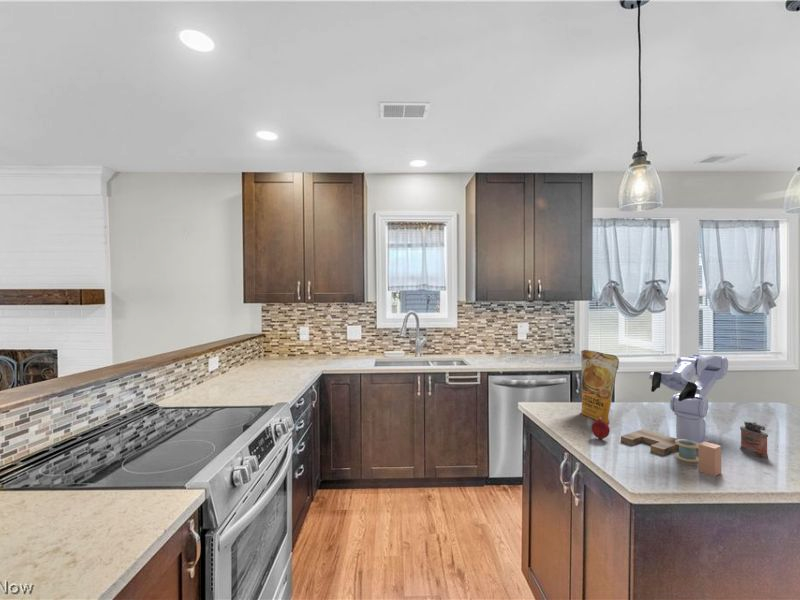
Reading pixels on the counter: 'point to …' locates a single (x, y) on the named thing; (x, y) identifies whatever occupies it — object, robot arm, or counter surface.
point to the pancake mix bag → (597, 383)
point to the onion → (600, 429)
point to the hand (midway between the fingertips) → (666, 393)
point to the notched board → (652, 441)
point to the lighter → (754, 439)
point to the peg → (710, 458)
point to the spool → (687, 450)
